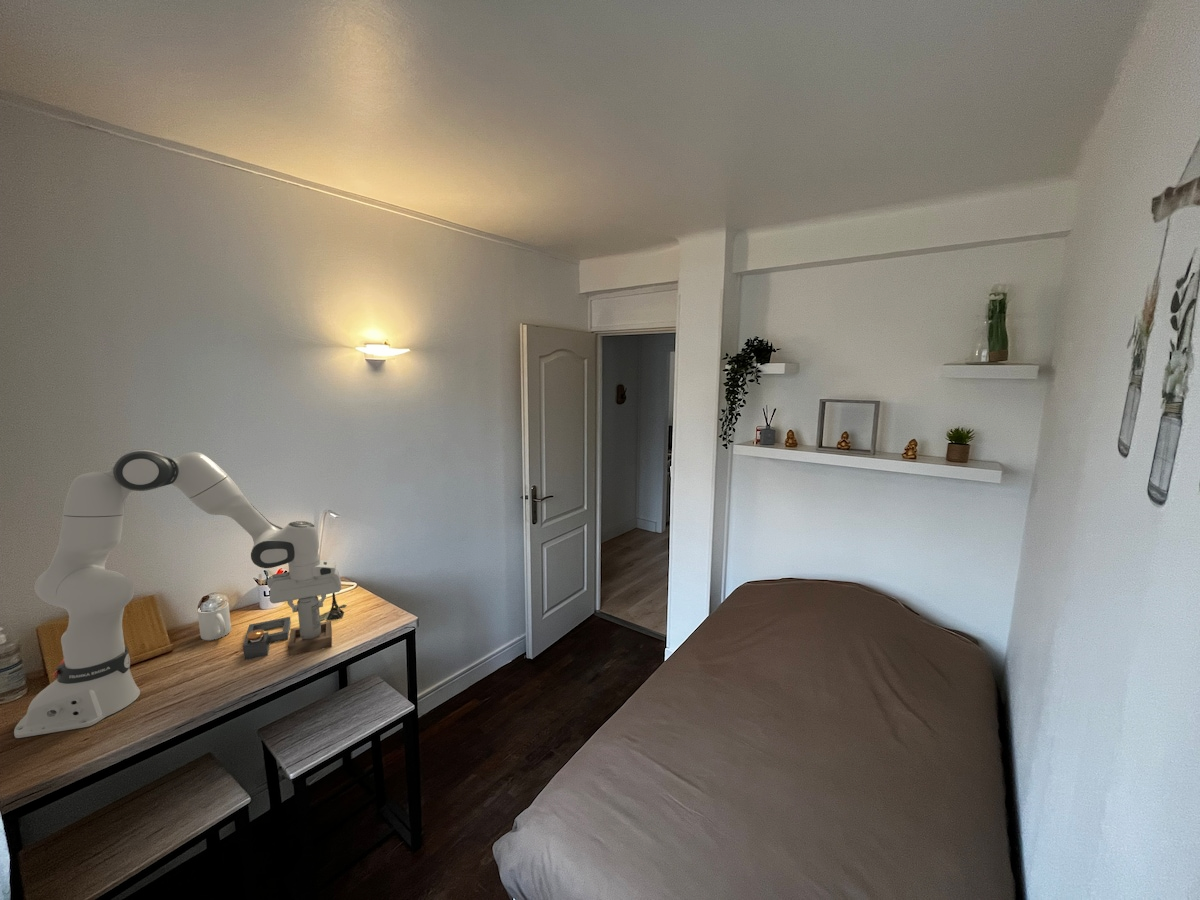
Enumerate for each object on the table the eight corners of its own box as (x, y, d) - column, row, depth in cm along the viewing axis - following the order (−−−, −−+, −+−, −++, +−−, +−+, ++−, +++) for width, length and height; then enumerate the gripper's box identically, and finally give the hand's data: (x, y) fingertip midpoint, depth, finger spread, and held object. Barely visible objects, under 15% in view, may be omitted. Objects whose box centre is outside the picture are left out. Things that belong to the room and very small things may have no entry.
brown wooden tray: (288, 656, 151) (287, 646, 151) (291, 638, 162) (290, 628, 161) (331, 646, 157) (330, 637, 157) (331, 629, 167) (331, 620, 167)
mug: (239, 636, 162) (236, 608, 160) (209, 647, 155) (205, 618, 154) (226, 625, 169) (223, 598, 167) (197, 635, 162) (193, 607, 161)
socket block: (240, 661, 148) (238, 646, 148) (250, 631, 166) (248, 617, 165) (286, 651, 154) (284, 637, 153) (290, 623, 171) (289, 610, 171)
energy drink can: (306, 631, 162) (302, 591, 159) (324, 631, 163) (321, 591, 160) (296, 642, 156) (292, 600, 154) (315, 641, 157) (312, 600, 154)
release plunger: (247, 656, 150) (245, 638, 149) (249, 649, 154) (247, 631, 153) (264, 652, 152) (262, 634, 151) (266, 645, 156) (264, 628, 155)
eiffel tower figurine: (344, 605, 186) (342, 573, 184) (361, 611, 182) (359, 578, 180) (306, 622, 173) (303, 588, 171) (324, 629, 168) (321, 594, 166)
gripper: (265, 579, 147) (269, 620, 150) (339, 567, 157) (342, 606, 160) (267, 571, 153) (271, 611, 155) (339, 561, 163) (342, 598, 165)
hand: (308, 609), depth 157 cm, fingers closed on energy drink can, 6 cm apart
